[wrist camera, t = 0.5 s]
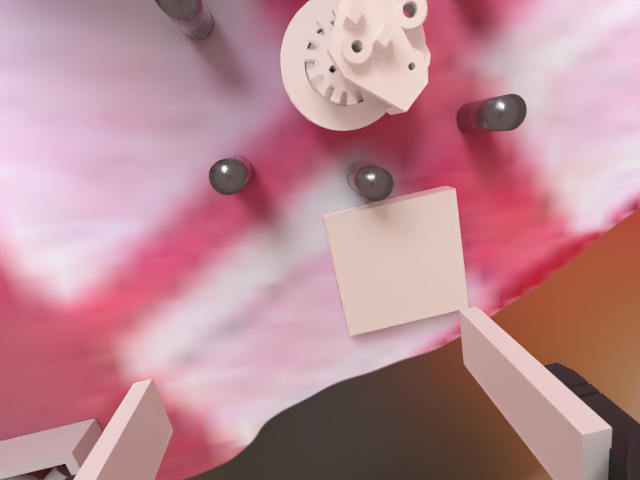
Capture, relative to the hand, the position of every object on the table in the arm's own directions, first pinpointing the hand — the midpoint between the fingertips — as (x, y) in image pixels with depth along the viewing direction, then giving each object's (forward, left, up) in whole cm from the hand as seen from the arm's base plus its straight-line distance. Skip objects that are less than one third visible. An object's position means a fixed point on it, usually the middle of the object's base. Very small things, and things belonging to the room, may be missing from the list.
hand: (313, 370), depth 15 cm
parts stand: (+6, +10, -25) cm, 28 cm away
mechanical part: (-14, +8, -25) cm, 30 cm away
